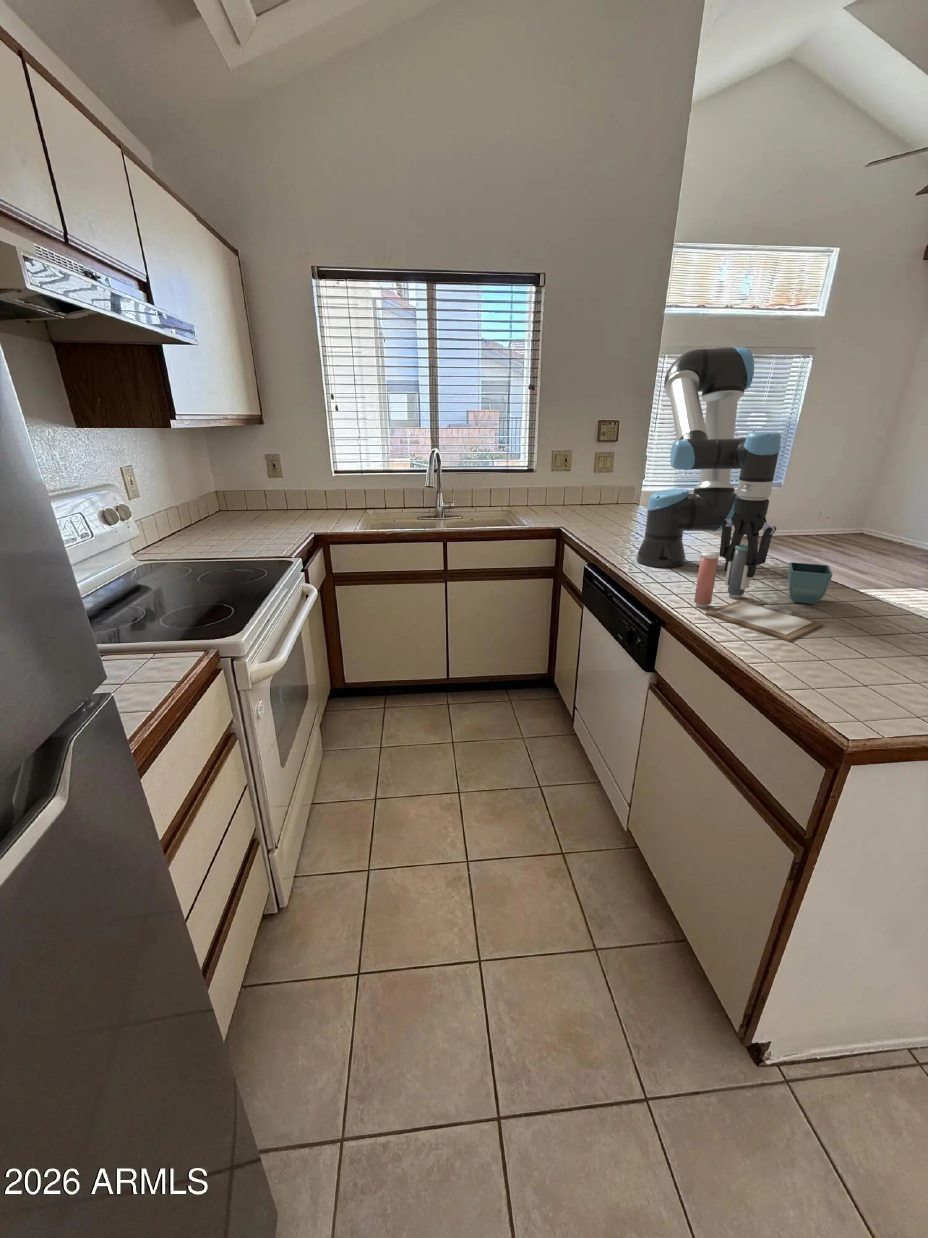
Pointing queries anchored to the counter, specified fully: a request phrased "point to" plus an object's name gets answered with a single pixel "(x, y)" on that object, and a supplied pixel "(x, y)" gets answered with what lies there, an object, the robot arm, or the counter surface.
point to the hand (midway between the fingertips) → (736, 585)
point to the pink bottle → (706, 579)
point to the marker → (738, 571)
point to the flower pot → (808, 582)
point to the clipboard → (765, 619)
